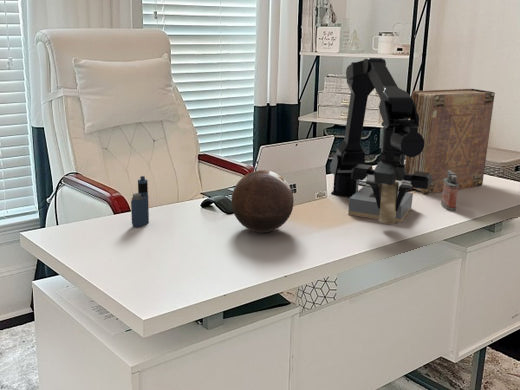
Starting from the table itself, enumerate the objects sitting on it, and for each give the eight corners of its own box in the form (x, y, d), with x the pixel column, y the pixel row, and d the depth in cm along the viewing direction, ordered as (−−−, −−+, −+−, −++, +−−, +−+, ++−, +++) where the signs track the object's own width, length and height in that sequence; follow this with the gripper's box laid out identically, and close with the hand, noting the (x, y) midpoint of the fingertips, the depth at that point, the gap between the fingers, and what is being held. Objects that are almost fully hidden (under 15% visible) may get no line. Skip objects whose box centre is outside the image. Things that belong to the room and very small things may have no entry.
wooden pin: (377, 222, 152) (380, 183, 150) (381, 217, 156) (384, 179, 153) (392, 224, 151) (396, 185, 148) (396, 220, 154) (400, 181, 151)
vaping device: (151, 222, 154) (149, 176, 151) (138, 228, 150) (137, 181, 146) (142, 220, 155) (141, 174, 152) (129, 226, 151) (128, 179, 147)
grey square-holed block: (348, 214, 165) (349, 198, 164) (362, 201, 177) (363, 186, 176) (400, 222, 159) (401, 206, 158) (411, 208, 172) (412, 193, 170)
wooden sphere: (299, 239, 145) (302, 178, 141) (236, 242, 142) (237, 180, 138) (283, 219, 159) (286, 163, 155) (226, 221, 156) (227, 164, 152)
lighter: (458, 211, 170) (462, 176, 167) (446, 211, 170) (450, 176, 167) (450, 202, 178) (454, 169, 175) (438, 202, 178) (442, 169, 175)
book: (422, 194, 186) (433, 94, 177) (402, 186, 193) (411, 91, 185) (482, 185, 197) (495, 91, 189) (461, 179, 205) (472, 88, 197)
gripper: (346, 149, 145) (342, 212, 149) (426, 159, 137) (419, 225, 142) (359, 141, 154) (355, 200, 159) (435, 150, 147) (428, 212, 151)
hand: (387, 209), depth 153 cm, fingers closed on wooden pin, 4 cm apart
